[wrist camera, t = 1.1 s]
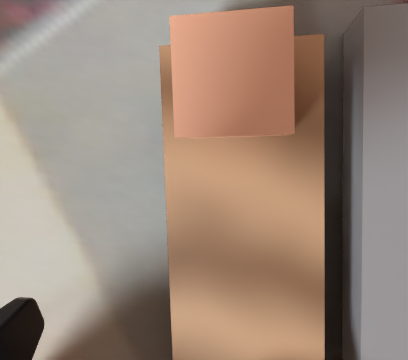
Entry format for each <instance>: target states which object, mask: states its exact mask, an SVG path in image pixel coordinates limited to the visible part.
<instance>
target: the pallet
mask: <svg viewBox="0 0 408 360" xmlns="http://www.w3.org/2000/svg"><path fill="white" fill-rule="evenodd" d="M159 50H160V73H161V97H162V120H163V144H164V168H165V191H166V215H167V238H168V262H169V285H170V309H171V332H172V356H173V360H325V262H324V34H313V35H300V36H294V113H295V134H291V135H281V136H252V137H223V138H174V116H173V90H172V65H171V45H165V46H159Z"/></svg>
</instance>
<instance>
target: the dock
mask: <svg viewBox="0 0 408 360" xmlns="http://www.w3.org/2000/svg"><path fill="white" fill-rule="evenodd" d="M342 360H408V3H403V4H391V5H379V6H367V7H364V8H363V9H362V10H361V12H360V13H359V14H358V16H357V17H356V18H355V20H354V21H353V22H352V24H351V25H350V26H349V28H348V29H347V30H346V32H345V33H344V34H343V256H342Z"/></svg>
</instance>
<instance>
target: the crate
mask: <svg viewBox="0 0 408 360" xmlns="http://www.w3.org/2000/svg"><path fill="white" fill-rule="evenodd" d="M170 40H171V65H172V90H173V116H174V138H223V137H252V136H281V135H291V134H295V113H294V5H291V6H280V7H268V8H256V9H245V10H233V11H222V12H210V13H199V14H187V15H175V16H170Z"/></svg>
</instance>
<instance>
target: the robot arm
mask: <svg viewBox="0 0 408 360" xmlns="http://www.w3.org/2000/svg"><path fill="white" fill-rule="evenodd" d="M43 329H44V319H43V317H42V314H41V312H40V309H39V307H38V305H37V302H36V301H35V300H34V299H33V298H25V297H19V298H16V299H14V300H13V301H11V302H9V303H8V304H6V305H5V306H3V307H2V308H0V360H32V358H33V355H34V353H35V350H36V348H37V345H38V342H39V340H40V337H41V335H42V332H43Z"/></svg>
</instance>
